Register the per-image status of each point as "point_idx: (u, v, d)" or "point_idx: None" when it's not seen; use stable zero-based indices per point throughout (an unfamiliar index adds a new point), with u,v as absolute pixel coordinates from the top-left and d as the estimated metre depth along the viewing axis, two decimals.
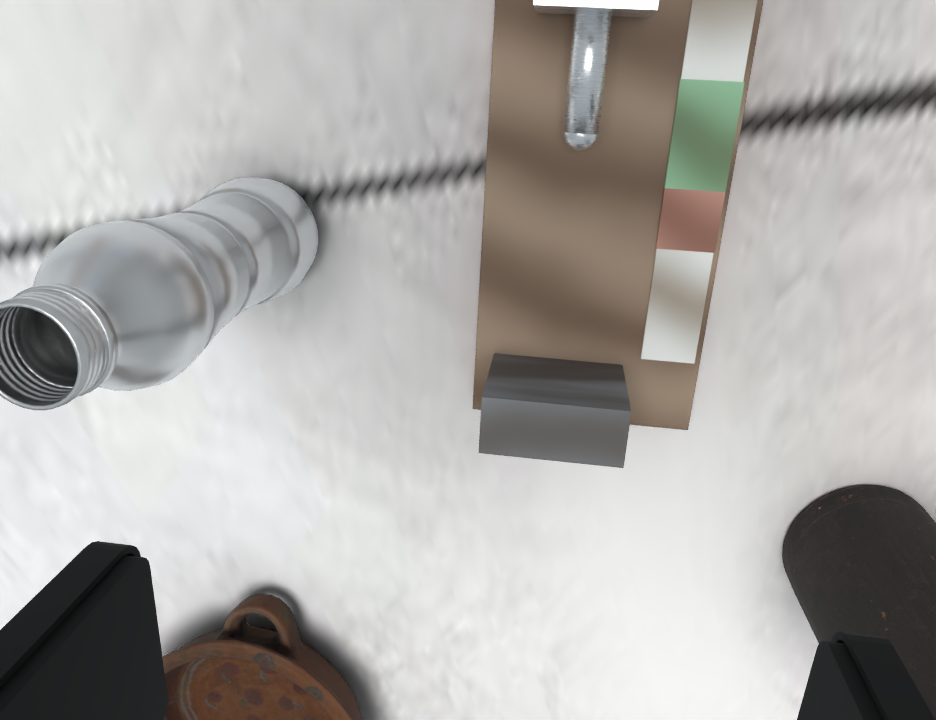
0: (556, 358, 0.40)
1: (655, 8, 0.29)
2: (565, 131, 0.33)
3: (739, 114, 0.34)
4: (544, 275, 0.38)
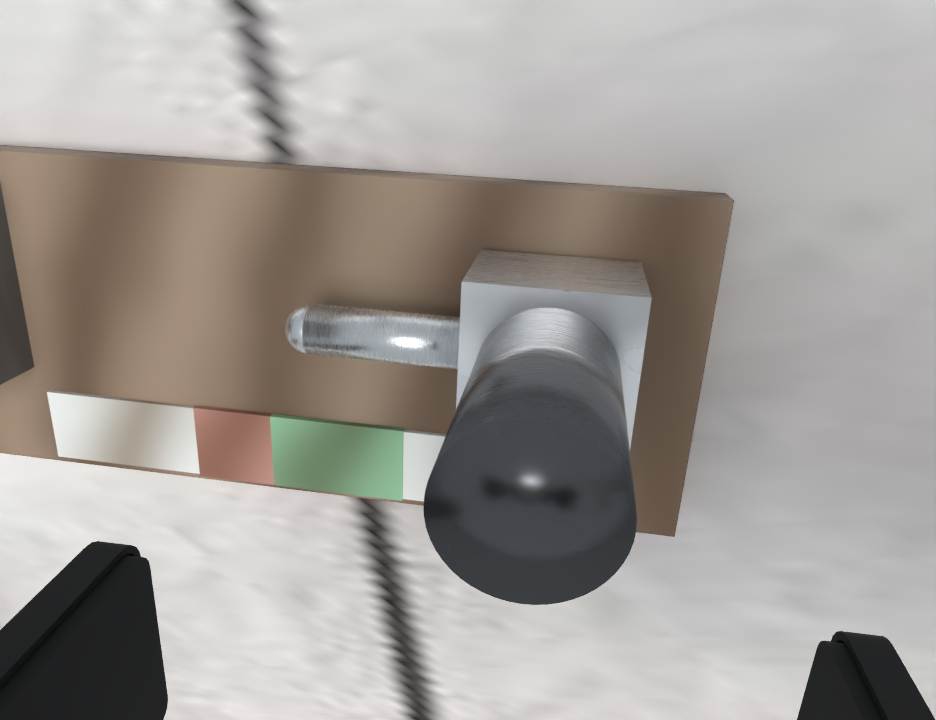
0: (18, 276, 0.27)
1: None
2: (307, 310, 0.22)
3: None
4: (131, 258, 0.26)
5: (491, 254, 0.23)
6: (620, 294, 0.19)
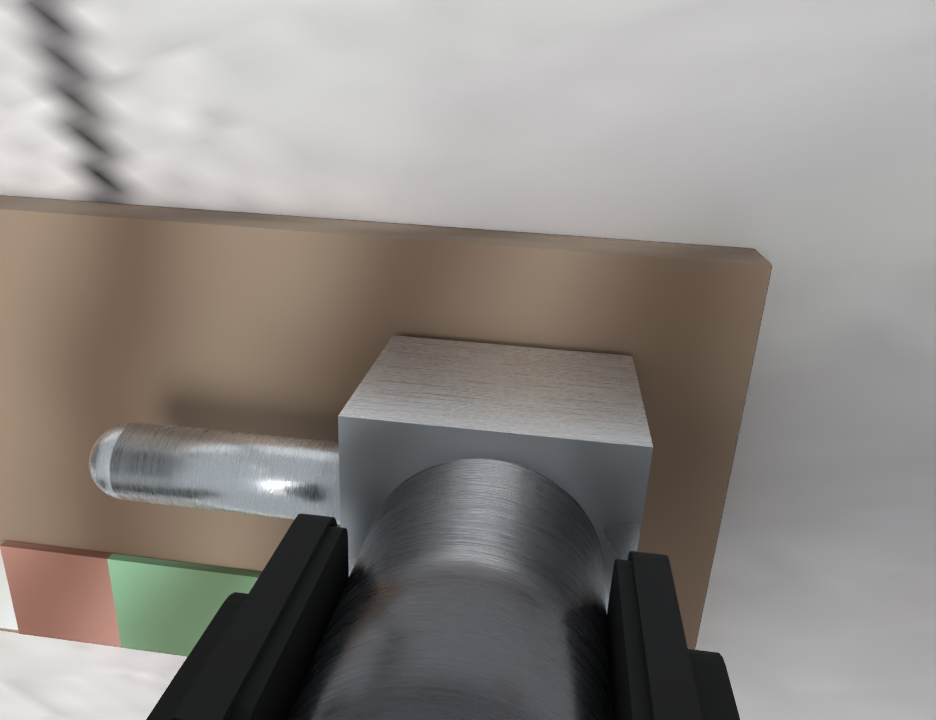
0: None
1: None
2: (120, 437, 0.14)
3: None
4: None
5: (404, 346, 0.15)
6: (600, 440, 0.11)
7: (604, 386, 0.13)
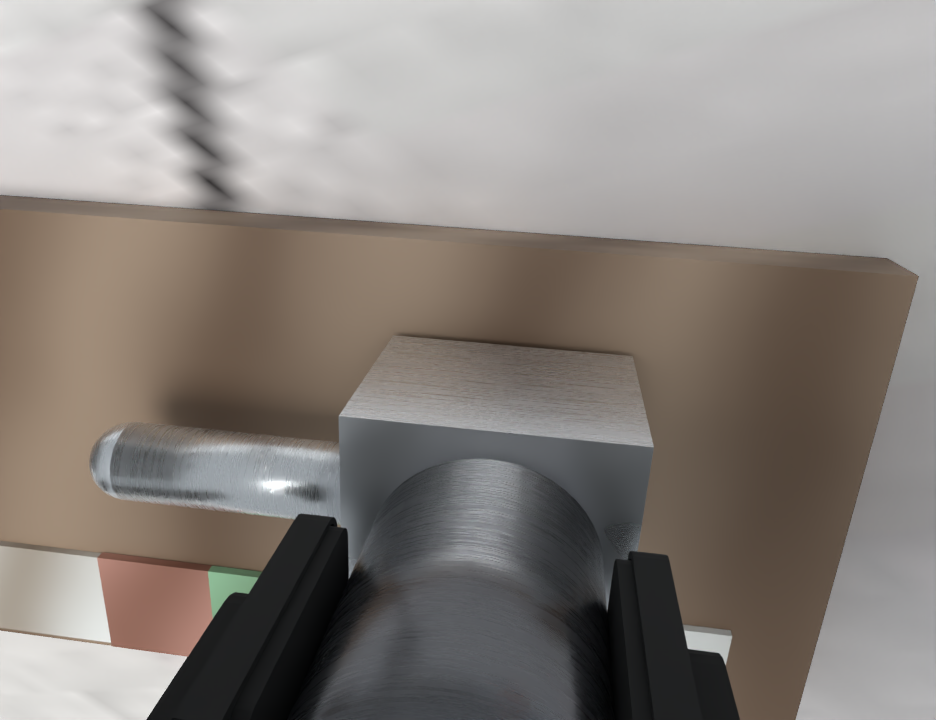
0: None
1: None
2: (120, 437, 0.14)
3: None
4: None
5: (405, 347, 0.15)
6: (600, 441, 0.11)
7: (605, 386, 0.13)
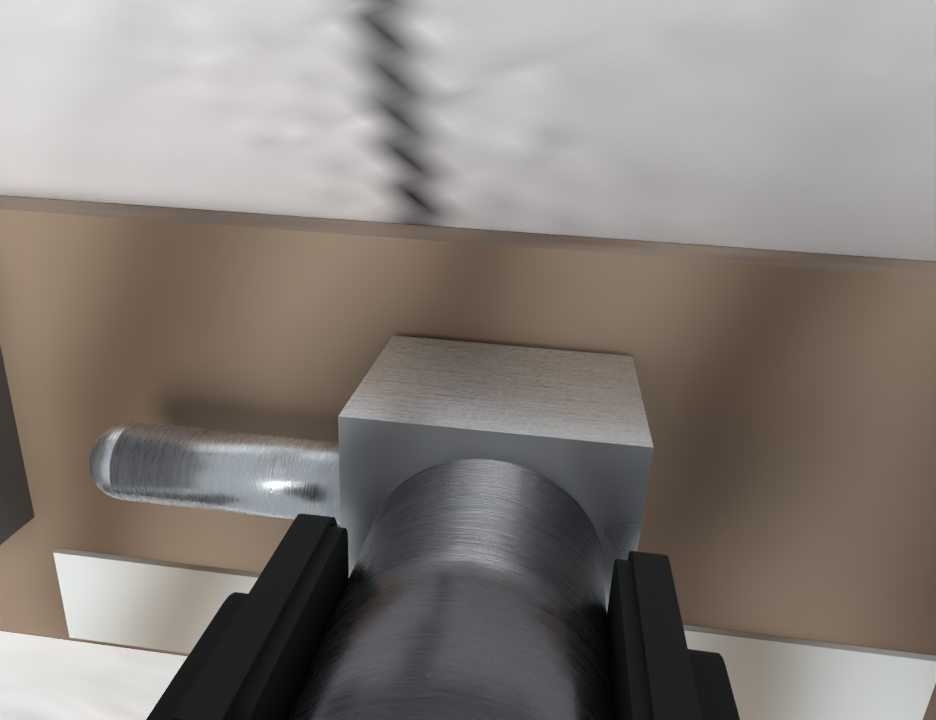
0: (11, 391, 0.18)
1: None
2: (120, 437, 0.14)
3: None
4: (186, 368, 0.17)
5: (404, 347, 0.15)
6: (600, 440, 0.11)
7: (604, 386, 0.13)
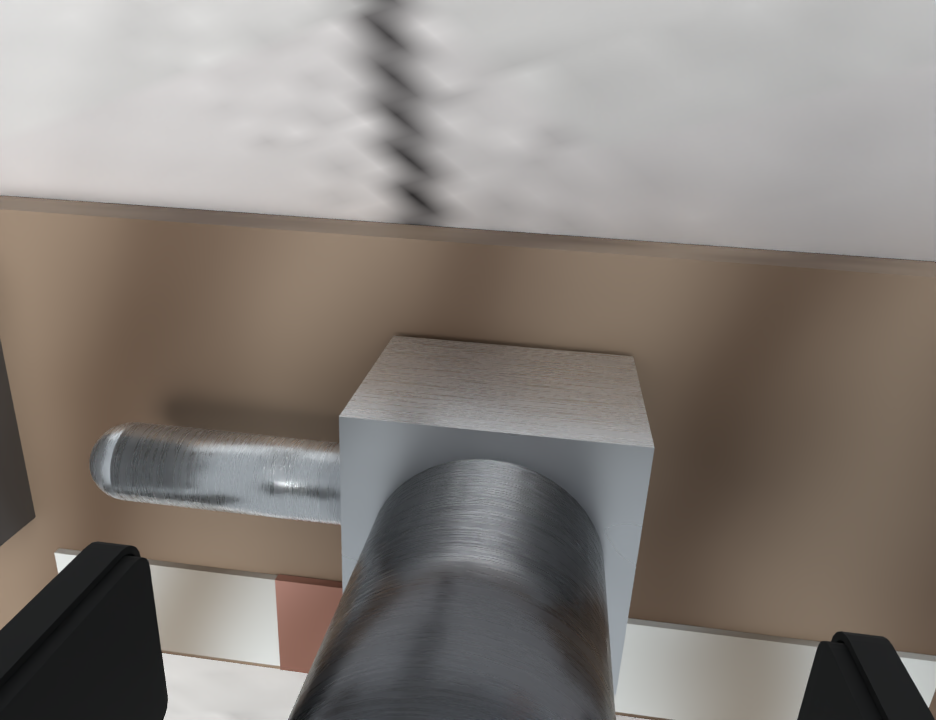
0: (12, 392, 0.18)
1: None
2: (120, 437, 0.14)
3: None
4: (187, 368, 0.17)
5: (405, 347, 0.15)
6: (601, 441, 0.11)
7: (605, 386, 0.13)
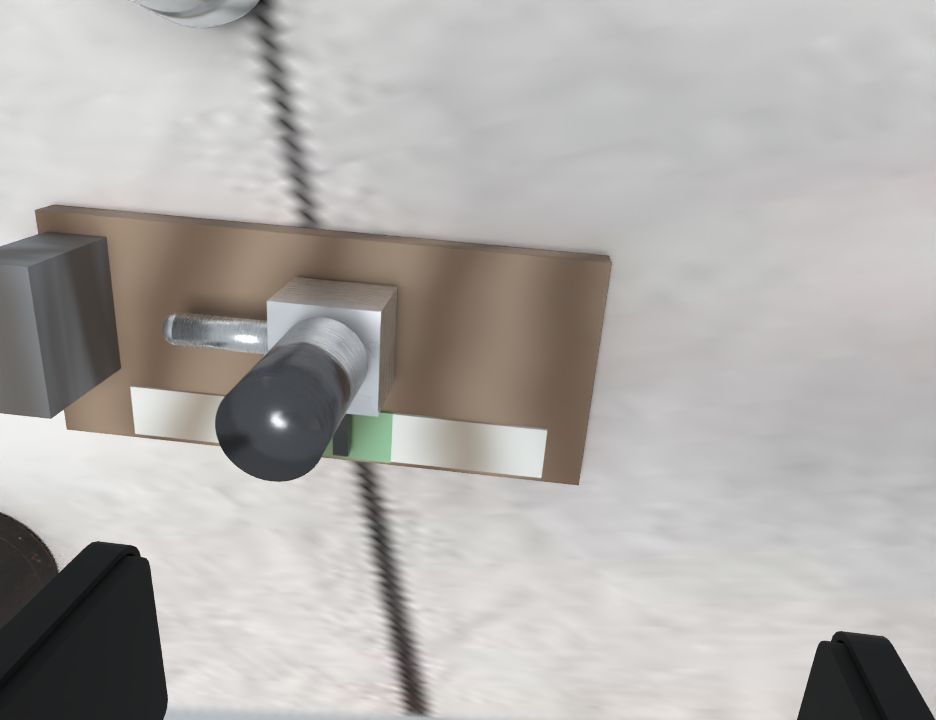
0: (114, 304, 0.37)
1: None
2: (175, 316, 0.34)
3: (364, 459, 0.39)
4: (200, 292, 0.36)
5: (298, 281, 0.35)
6: (362, 310, 0.31)
7: (376, 295, 0.33)
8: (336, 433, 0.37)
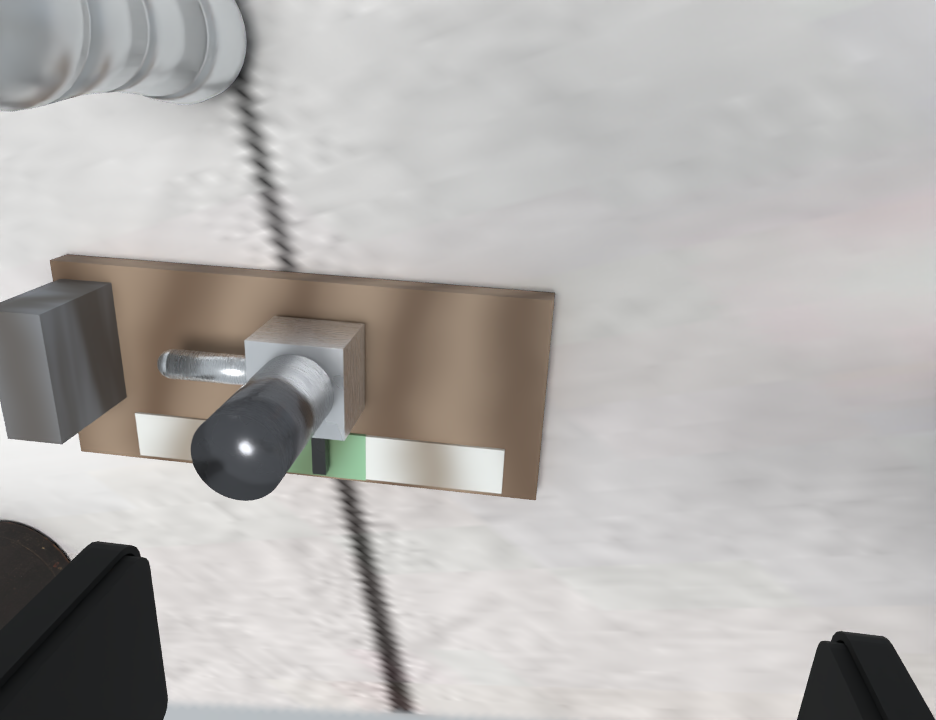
0: (119, 340, 0.42)
1: None
2: (169, 353, 0.39)
3: None
4: (193, 330, 0.41)
5: (276, 320, 0.39)
6: (327, 347, 0.36)
7: (343, 333, 0.38)
8: (315, 454, 0.42)
